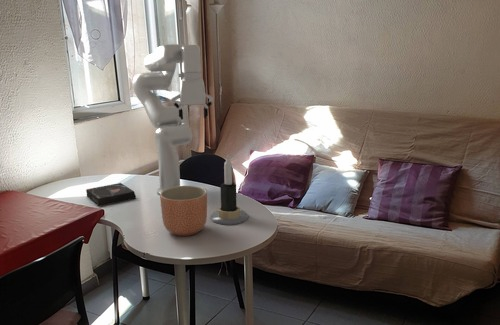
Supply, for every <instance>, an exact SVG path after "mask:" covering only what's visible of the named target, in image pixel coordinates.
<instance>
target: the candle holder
mask: <svg viewBox="0 0 500 325" xmlns="http://www.w3.org/2000/svg"><path fill="white" fill-rule="evenodd" d="M248 217H249V214H248V212H247V211H244V210H242V209H241V207H240V206H239V205H237V210H235V211H231V212H226V211H222V210H221V205H220V206H218V207H217V210H215V211H213V212H212V213H211V214H210V220H211V221H212V222H213V223H215V224H219V225H223V226H235V225H239V224H243V223H244V222H246V221H247V220H248V219H249V218H248Z"/></svg>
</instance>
